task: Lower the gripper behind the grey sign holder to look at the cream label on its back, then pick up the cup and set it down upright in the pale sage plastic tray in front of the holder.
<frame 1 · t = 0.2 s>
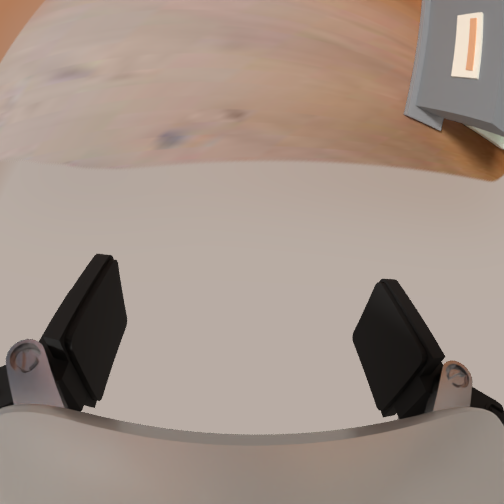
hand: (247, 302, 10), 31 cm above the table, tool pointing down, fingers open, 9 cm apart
grey sign holder: (434, 55, 28), on the table
parts tray: (488, 108, 32), on the table
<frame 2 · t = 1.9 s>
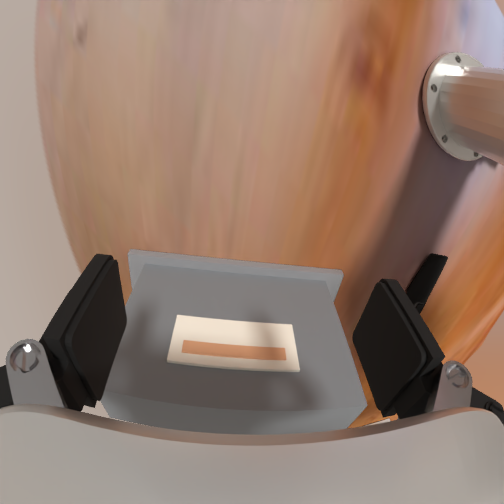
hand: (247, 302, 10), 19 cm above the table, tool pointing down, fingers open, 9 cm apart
electric trimmer: (409, 294, 35), on the table
grey sign holder: (234, 285, 33), on the table
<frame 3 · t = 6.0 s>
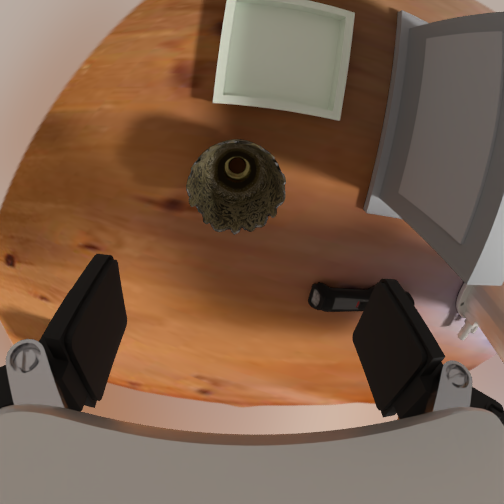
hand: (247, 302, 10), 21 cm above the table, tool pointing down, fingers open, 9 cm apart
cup: (237, 164, 28), on the table
electric trimmer: (360, 291, 37), on the table
grey sign holder: (412, 116, 25), on the table
parts tray: (283, 53, 22), on the table
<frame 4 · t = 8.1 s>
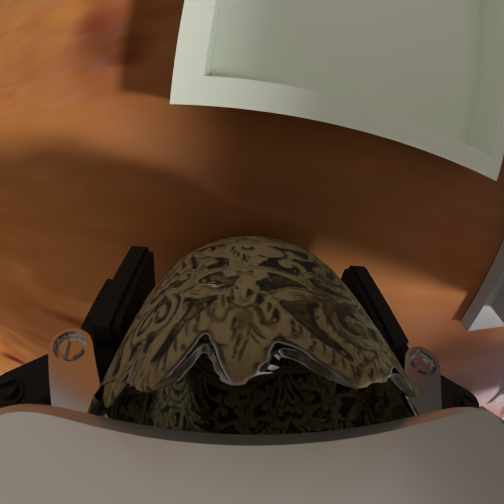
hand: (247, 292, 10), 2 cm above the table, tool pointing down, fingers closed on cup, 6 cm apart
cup: (245, 265, 12), on the table, touching gripper
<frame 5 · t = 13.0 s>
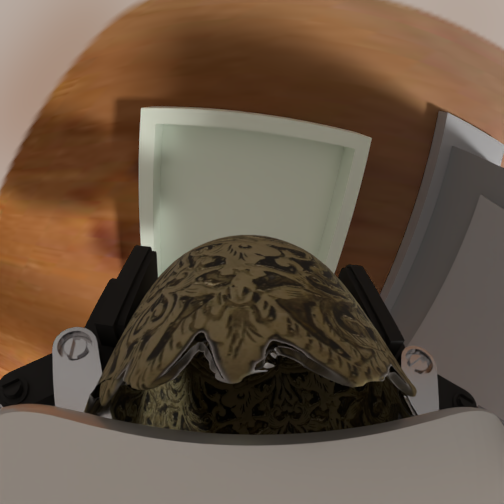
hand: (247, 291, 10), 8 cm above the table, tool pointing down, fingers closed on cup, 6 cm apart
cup: (243, 264, 12), point 6 cm above the table, touching gripper
grey sign holder: (424, 269, 20), on the table
parts tray: (244, 209, 17), on the table
when the fingers open (3 cm above the table, at t = 14.4 s): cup drops 1 cm, resting on parts tray.
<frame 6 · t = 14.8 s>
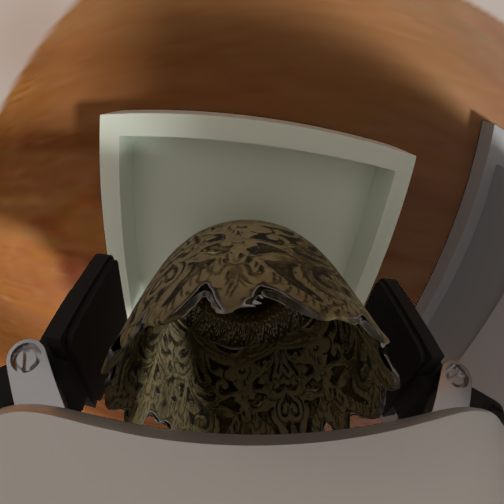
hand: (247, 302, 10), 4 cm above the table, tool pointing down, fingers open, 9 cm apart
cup: (243, 252, 13), resting on parts tray
grey sign holder: (451, 302, 16), on the table
parts tray: (244, 244, 13), on the table
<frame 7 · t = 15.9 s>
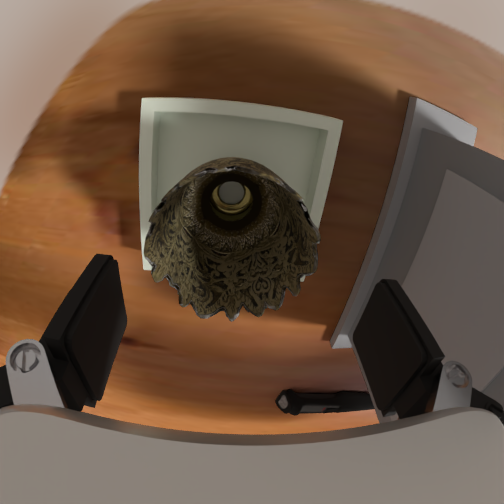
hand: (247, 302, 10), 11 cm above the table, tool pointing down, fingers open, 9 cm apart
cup: (231, 191, 19), resting on parts tray
electric trimmer: (328, 392, 35), on the table
grey sign holder: (403, 244, 22), on the table
parts tray: (232, 186, 19), on the table
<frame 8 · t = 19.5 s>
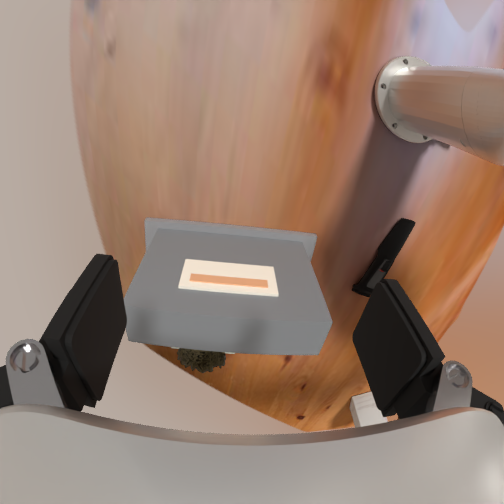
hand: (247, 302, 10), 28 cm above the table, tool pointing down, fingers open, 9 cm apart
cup: (205, 322, 48), resting on parts tray
electric trimmer: (379, 255, 44), on the table
grey sign holder: (229, 246, 41), on the table
supplement box: (362, 398, 68), on the table
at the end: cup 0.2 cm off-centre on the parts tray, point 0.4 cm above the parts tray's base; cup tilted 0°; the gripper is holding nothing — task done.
